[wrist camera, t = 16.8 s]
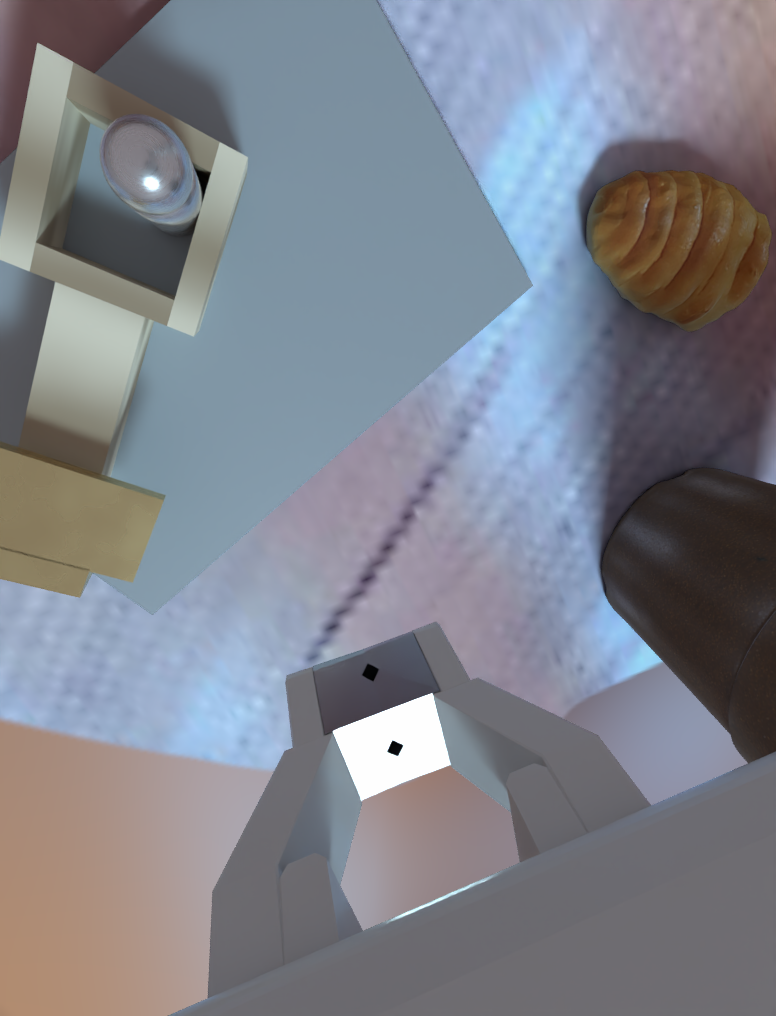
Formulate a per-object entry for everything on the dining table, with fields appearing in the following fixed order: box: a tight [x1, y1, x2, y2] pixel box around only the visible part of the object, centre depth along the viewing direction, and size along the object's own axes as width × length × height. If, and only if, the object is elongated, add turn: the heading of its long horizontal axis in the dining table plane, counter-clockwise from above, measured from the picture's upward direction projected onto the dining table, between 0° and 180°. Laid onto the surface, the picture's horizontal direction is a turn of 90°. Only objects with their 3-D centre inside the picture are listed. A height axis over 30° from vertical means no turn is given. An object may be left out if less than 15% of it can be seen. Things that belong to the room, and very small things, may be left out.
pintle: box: [100, 114, 204, 237], centre depth 17 cm, size 2×2×8 cm
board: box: [0, 0, 533, 615], centre depth 23 cm, size 26×17×1 cm, turn 128°
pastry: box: [586, 170, 772, 332], centre depth 26 cm, size 9×7×4 cm
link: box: [0, 43, 248, 477], centre depth 21 cm, size 16×7×3 cm, turn 156°
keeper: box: [0, 441, 166, 598], centre depth 22 cm, size 5×7×5 cm
